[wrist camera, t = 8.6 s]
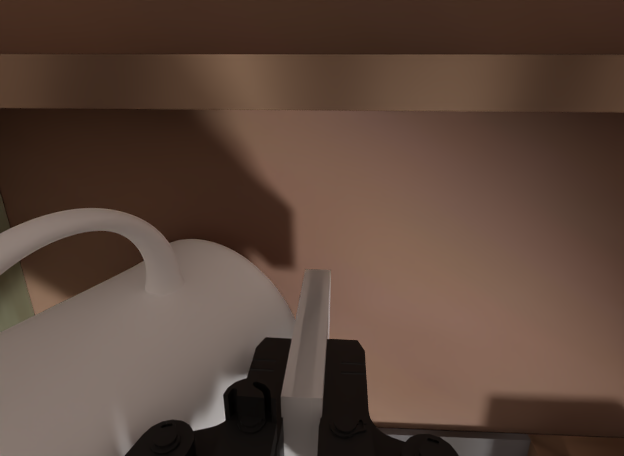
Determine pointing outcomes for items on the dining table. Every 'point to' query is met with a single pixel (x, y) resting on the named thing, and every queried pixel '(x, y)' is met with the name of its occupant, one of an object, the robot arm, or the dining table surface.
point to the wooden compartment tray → (322, 96)
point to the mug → (130, 340)
